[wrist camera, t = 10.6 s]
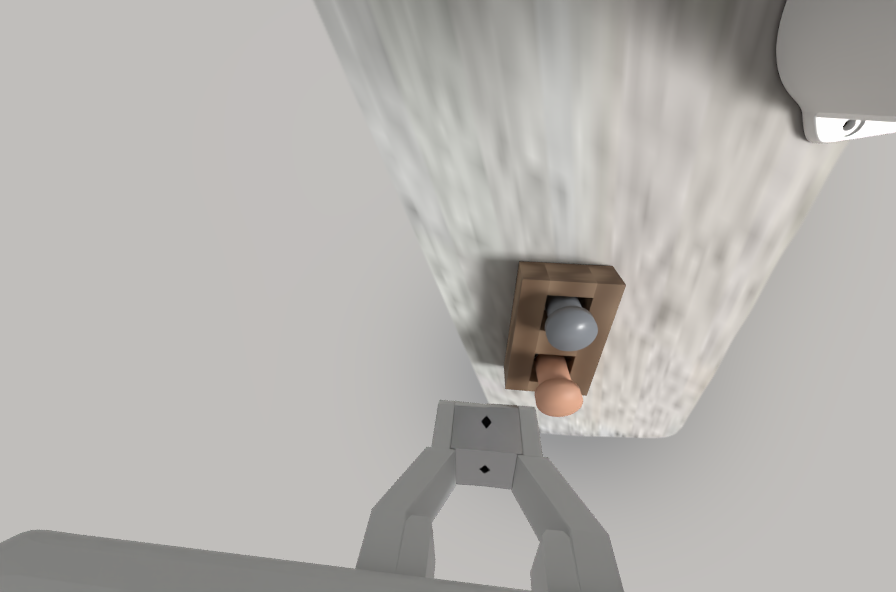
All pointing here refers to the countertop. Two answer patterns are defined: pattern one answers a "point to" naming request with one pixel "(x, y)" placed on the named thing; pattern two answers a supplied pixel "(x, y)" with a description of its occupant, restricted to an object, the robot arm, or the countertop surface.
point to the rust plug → (556, 387)
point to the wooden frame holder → (528, 317)
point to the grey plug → (568, 323)
